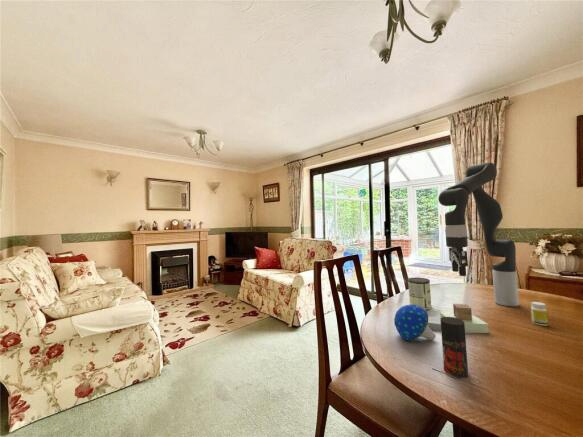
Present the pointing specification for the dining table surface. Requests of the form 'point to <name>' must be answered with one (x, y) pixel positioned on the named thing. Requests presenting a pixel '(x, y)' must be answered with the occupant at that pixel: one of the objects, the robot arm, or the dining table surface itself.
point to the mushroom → (413, 323)
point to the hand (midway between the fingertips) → (459, 273)
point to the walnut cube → (462, 311)
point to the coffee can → (420, 292)
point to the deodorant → (454, 347)
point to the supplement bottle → (539, 314)
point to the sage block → (470, 323)
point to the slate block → (434, 323)
